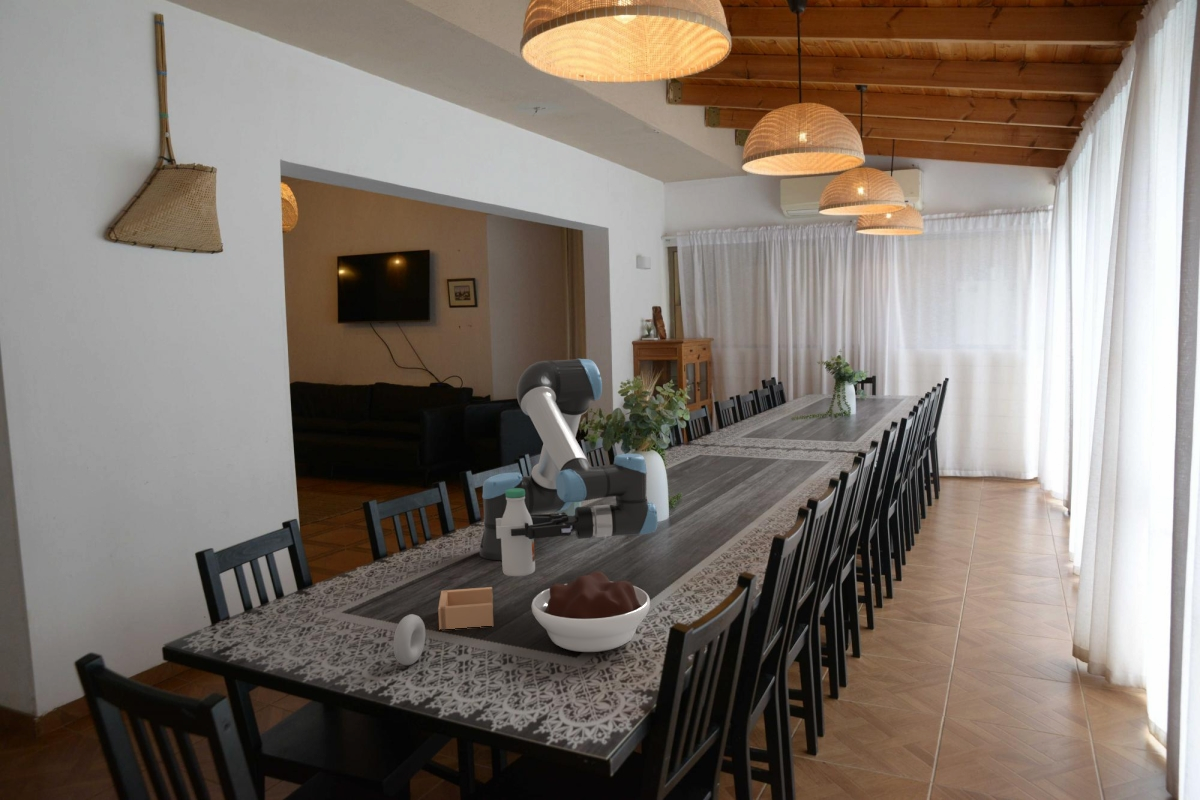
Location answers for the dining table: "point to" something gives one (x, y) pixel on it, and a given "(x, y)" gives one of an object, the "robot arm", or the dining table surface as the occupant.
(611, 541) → the dining table surface
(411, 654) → the donut
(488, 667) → the dining table surface
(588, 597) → the bowl of chocolate pudding
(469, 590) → the box
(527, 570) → the milk bottle
